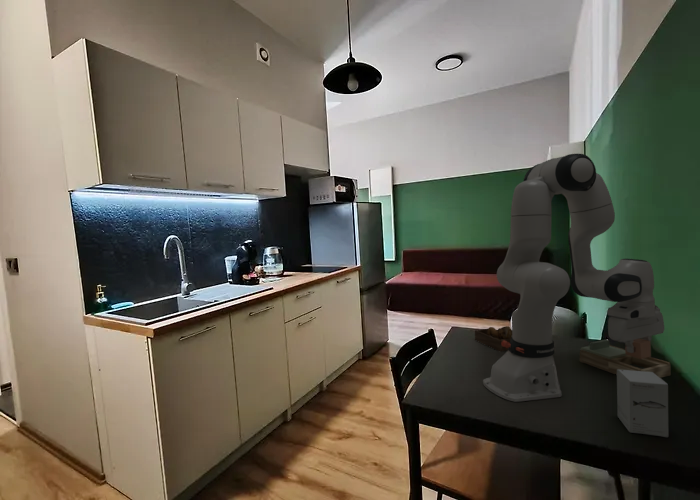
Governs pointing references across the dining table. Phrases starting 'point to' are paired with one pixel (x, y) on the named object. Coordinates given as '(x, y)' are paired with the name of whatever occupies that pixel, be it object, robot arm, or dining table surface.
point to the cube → (640, 349)
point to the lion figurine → (500, 332)
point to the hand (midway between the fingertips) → (637, 350)
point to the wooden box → (627, 363)
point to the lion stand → (490, 340)
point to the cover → (604, 349)
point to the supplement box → (642, 402)
